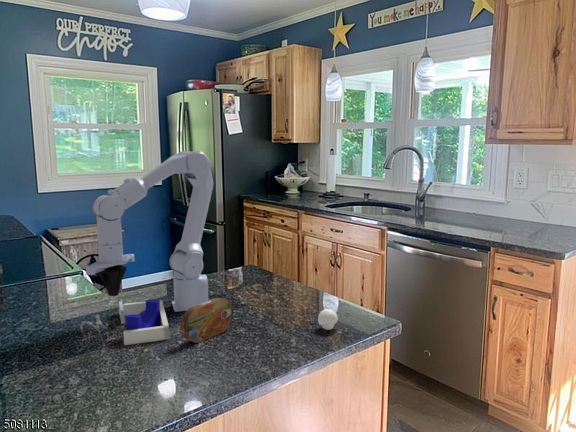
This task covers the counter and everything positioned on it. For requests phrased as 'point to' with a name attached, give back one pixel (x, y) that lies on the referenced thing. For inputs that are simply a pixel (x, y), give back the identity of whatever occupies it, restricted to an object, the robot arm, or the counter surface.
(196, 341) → the tin
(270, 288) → the counter surface
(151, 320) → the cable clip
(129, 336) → the bracket
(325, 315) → the mushroom
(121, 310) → the gate
